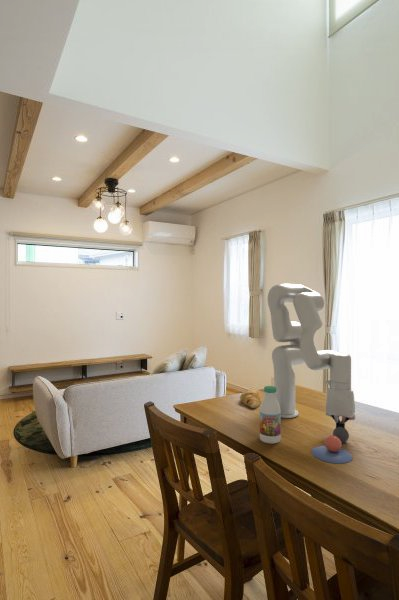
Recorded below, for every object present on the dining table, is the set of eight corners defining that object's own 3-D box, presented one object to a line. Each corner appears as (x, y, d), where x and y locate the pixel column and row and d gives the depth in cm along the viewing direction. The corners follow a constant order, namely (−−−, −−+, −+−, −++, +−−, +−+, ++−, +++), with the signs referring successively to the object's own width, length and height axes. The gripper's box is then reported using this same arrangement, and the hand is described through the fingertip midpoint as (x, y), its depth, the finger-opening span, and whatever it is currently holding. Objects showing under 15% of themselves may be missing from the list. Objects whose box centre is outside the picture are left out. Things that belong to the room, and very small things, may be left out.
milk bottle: (257, 436, 134) (257, 384, 134) (276, 435, 135) (277, 384, 135) (262, 444, 127) (262, 390, 126) (283, 443, 127) (283, 389, 127)
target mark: (307, 457, 116) (307, 456, 116) (316, 443, 127) (316, 443, 127) (349, 467, 110) (349, 466, 110) (354, 451, 121) (354, 451, 121)
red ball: (328, 447, 125) (325, 455, 120) (324, 432, 125) (321, 440, 120) (344, 447, 122) (342, 455, 117) (340, 432, 122) (337, 439, 117)
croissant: (260, 417, 166) (267, 402, 166) (241, 407, 166) (249, 392, 166) (251, 402, 188) (258, 389, 188) (235, 394, 187) (242, 381, 187)
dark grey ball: (336, 424, 133) (333, 439, 132) (332, 424, 129) (329, 439, 128) (351, 429, 130) (348, 444, 129) (348, 429, 125) (345, 445, 125)
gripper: (318, 384, 135) (318, 431, 135) (360, 390, 127) (360, 440, 127) (322, 380, 141) (322, 425, 141) (362, 385, 134) (362, 433, 134)
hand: (340, 432), depth 134 cm, fingers closed
